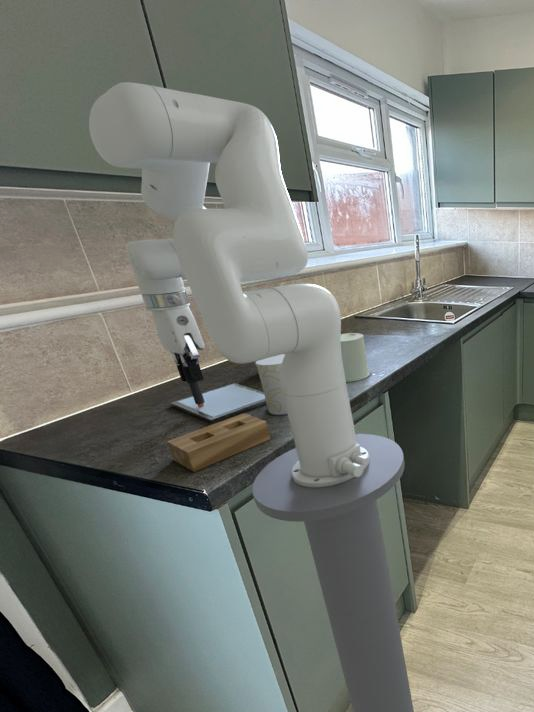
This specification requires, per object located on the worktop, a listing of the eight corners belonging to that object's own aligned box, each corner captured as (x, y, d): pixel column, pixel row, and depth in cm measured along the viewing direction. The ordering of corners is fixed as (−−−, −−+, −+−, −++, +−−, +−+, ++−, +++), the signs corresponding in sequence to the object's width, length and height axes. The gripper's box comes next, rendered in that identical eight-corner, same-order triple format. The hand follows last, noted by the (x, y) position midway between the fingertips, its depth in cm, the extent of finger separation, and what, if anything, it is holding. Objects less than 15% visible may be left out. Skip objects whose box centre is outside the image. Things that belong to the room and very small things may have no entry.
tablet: (277, 399, 104) (276, 395, 103) (211, 423, 92) (210, 419, 91) (235, 386, 114) (234, 382, 113) (171, 406, 102) (170, 402, 101)
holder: (270, 438, 84) (266, 421, 83) (194, 472, 73) (187, 452, 72) (249, 429, 88) (244, 412, 87) (173, 460, 77) (166, 441, 76)
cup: (260, 413, 96) (247, 364, 92) (286, 399, 104) (274, 353, 99) (290, 415, 94) (278, 365, 90) (314, 401, 102) (303, 354, 97)
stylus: (207, 405, 99) (191, 357, 94) (198, 408, 97) (182, 359, 93) (203, 403, 99) (188, 356, 95) (195, 406, 98) (178, 358, 94)
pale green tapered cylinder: (376, 371, 121) (369, 331, 117) (357, 383, 113) (350, 340, 109) (348, 370, 124) (341, 330, 119) (328, 380, 115) (320, 339, 111)
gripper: (203, 300, 88) (227, 381, 95) (171, 295, 96) (195, 370, 103) (161, 306, 82) (190, 392, 89) (130, 301, 90) (159, 380, 97)
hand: (192, 380), depth 96 cm, fingers closed on stylus, 1 cm apart
